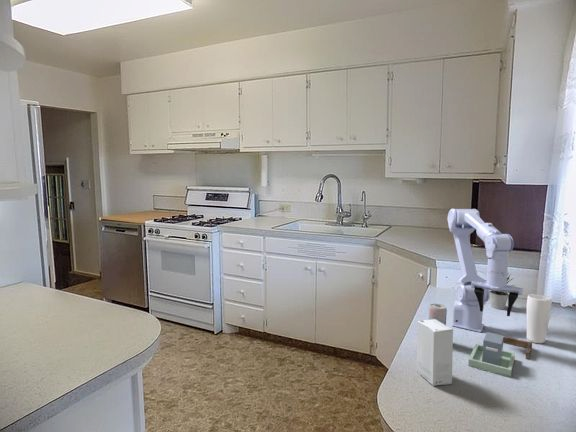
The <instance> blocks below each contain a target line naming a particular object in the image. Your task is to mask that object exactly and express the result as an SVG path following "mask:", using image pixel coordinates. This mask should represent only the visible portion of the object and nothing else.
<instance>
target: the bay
mask: <svg viewBox="0 0 576 432" xmlns="http://www.w3.org/2000/svg"><path fill="white" fill-rule="evenodd" d="M503 336H504V339H503V344H507V345H512V346H516V347H520V348H523V349H524V348H525V349H526V350H525V351H526V352H525V359H526V360H529V359H530V353H531V350H532V349H533V342H531V341H529V340H522V339H518V338H514V337H510V336H505V335H503Z"/></svg>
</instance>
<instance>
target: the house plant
mask: <svg viewBox="0 0 576 432" xmlns="http://www.w3.org/2000/svg"><path fill="white" fill-rule="evenodd" d="M480 272H481V271H480ZM481 273H482V274H483V272H481ZM484 275H487V272H486V273H485V272H484ZM510 277H511V274H509V272H507V284H508V283H509V282H510V281H512V280H514V279H515V277H514V278H510ZM484 280H485V282H487V279H484ZM510 286H514V287H516V285H513V284H512V285H511V284H510ZM508 295H509V293H506V292H499V291H492V290H490V298H489V303H490V307H491V308H492V309H496V310H505V308H506V305H507V303H508Z"/></svg>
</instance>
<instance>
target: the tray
mask: <svg viewBox="0 0 576 432" xmlns="http://www.w3.org/2000/svg"><path fill="white" fill-rule="evenodd" d="M482 354H483V344H479V343H476V344H475V345H474V347H473V349H472V351H471V353H470V355H469V358H468V365H467V366H468V367H471V368H475V369H478V370H479V369H480V370H483V371H486V372H490V373H493V374H497V375H500V376H503V377H508V378H512V372H513V369H514V363H515V358H516V353H515V352H513V351H507V350H504V349H503V351H502V360H501V364H500V366H497V365H494V364H490V363H486V362H482Z"/></svg>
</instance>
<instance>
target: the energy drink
mask: <svg viewBox="0 0 576 432" xmlns="http://www.w3.org/2000/svg"><path fill="white" fill-rule="evenodd" d="M447 312H448V310H447V306H446V305H444V304H440V303H430V305H429V308H428V319H427V320H432V319H436V320H437V321H439V322H441V323H443V324H444V325H446V326H447Z"/></svg>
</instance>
